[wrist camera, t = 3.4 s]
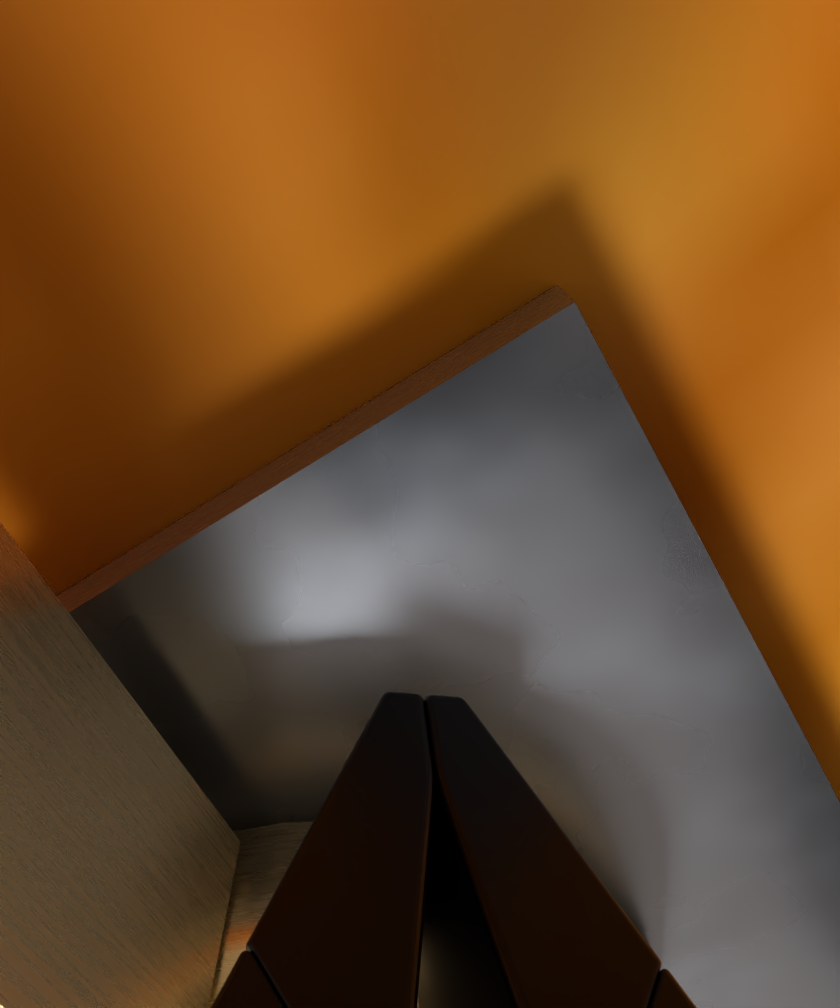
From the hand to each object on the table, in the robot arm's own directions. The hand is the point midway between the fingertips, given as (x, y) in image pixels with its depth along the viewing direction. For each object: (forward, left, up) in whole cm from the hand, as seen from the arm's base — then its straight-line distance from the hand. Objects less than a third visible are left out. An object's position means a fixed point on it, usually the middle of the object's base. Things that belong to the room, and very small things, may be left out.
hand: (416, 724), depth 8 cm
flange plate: (+6, +8, -4) cm, 11 cm away
